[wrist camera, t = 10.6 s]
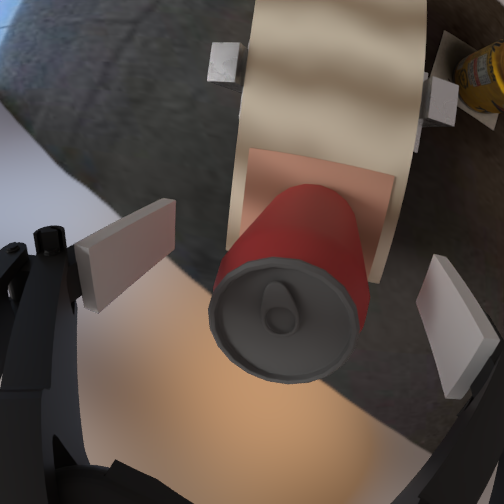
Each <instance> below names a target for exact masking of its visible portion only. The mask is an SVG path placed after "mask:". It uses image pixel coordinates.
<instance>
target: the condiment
mask: <svg viewBox="0 0 504 504" xmlns="http://www.w3.org/2000/svg"><path fill="white" fill-rule="evenodd" d="M466 55H467V56H466ZM432 76H434V77H437V78H440V79H443V80H445V81H448V82H452V83H454V84H456V85H459V91H458V101H457V106H458V107H459V108H461V109H462V110H464V111H465V112H467V113H468V114H470V115H472V116H473V117H474V118H476V119H477V120H479V121H480V122H482V123H483V124H485V125H486V126H487V127H489V128H490V129H492V130H493V131H494V128H495V125H496V122H497V118H498V114H499V113H504V39H501V40H499V41H497V42H494V43H492V44H491V45H488V46H487V47H485V48H483V49H480V50H478V51H477V50H475V49H474V48H473V47H471V46H469V45H468V44H466V43H465V42H463V41H461V40H460V39H458V38H457V37H455V36H454V35H452V34H450V33H448V32H447V31H445V30H444V33H443V36H442V39H441V43H440V46H439V49H438V52H437V56H436V59H435V62H434V65H433V69H432V72H431V75H430V77H432ZM448 78H449V79H450V81H449V80H448Z"/></svg>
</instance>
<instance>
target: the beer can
mask: <svg viewBox="0 0 504 504" xmlns="http://www.w3.org/2000/svg"><path fill="white" fill-rule="evenodd" d="M369 300H370V293H369V287H368V280H367V274H366V269H365V263H364V257H363V252H362V247H361V242H360V237H359V232H358V227H357V222H356V218H355V214H354V212H353V211H352V209H351V207H350V206H349V204H348V202H347V201H346V200H345V199H344V198H343V197H341V196H340V195H339V194H338V193H337V192H335V191H334V190H331V189H329V188H326V187H324V186H322V185H314V184H302V185H298V186H294V187H290V188H288V189H287V190H285V191H283V192H282V193H280V194H279V195H277V196H276V197H275V198H274V199H273V201H272V202H271V203H270V204H269V205H268V206H267V207H266V208H265V209H264V211H263V212H262V213H261V214H260V215H259V216H258V217H257V218H256V219H255V221H254V222H253V223H252V224H251V225H250V226H249V227H248V228H247V229H246V231H245V232H244V233H243V234H242V235H241V236H240V237H239V238H238V240H237V241H236V242H235V243H234V244H233V246H232V247H231V248H230V250H229V251H228V252H227V254H226V255H225V256H224V257H223V259H222V261H221V264H220V267H219V271H218V274H217V277H216V281H215V284H214V287H213V294H212V298H211V301H210V304H209V308H208V314H209V325H210V330H211V332H212V334H213V336H214V339H215V341H216V343H217V345H218V347H219V348H220V349H221V350H222V352H224V354H225V355H226V356H227V357H228V358H229V360H230V361H231V362H233V363H234V364H236V365H237V366H238V367H240V368H241V369H243V370H244V371H246V372H247V373H249V374H251V375H254V376H256V377H258V378H261V379H264V380H266V381H270V382H277V383H284V384H297V383H309V382H312V381H315V380H318V379H321V378H324V377H326V376H329V375H330V374H332V373H333V372H334V371H336V370H337V369H339V368H340V367H341V366H343V365H344V364H345V363H346V361H347V360H348V358H349V357H350V356H351V354H352V353H353V351H354V350H355V348H356V344H357V340H358V336H359V333H360V331H361V330H362V328H363V326H364V322H365V319H366V315H367V310H368V305H369Z"/></svg>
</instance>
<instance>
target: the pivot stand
mask: <svg viewBox="0 0 504 504" xmlns="http://www.w3.org/2000/svg"><path fill="white" fill-rule="evenodd" d="M249 43H250V41H249ZM248 51H249V44H248V49H247V48H246V47H244V46H243V45H242V44H241V43H227V42H222V43H212V49H211V56H210V63H209V70H208V78H207V81H208V82H211V83H214V84H217V85H220V86H222V87H225V88H228V89H231V90H234V91H236V92H239V93H242V96H243V88H244V80H245V73H246V62H247V58H248ZM458 91H459V85H456V84H454V83H451V82H448V81H445V80H443V79H440V78H437V77H434V76H432V77H430V78H429V79H428V73H427V72H424V77H423V87H422V100H421V104H420V112H419V119H418V126H417V132H416V138H415V144H414V150H413V152H416V153H417V152H418V147H419V141H420V135H421V129H422V127H454V125H455V118H456V110H457V101H458ZM241 104H242V97H241ZM240 112H241V105H240ZM239 119H240V113H239Z"/></svg>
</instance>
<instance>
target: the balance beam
mask: <svg viewBox="0 0 504 504" xmlns="http://www.w3.org/2000/svg"><path fill="white" fill-rule="evenodd" d="M426 26H427V0H256V2H255V9H254V15H253V22H252V29H251V36H250V43H249V51H248V58H247V62H246V73H245V80H244V88H243V96H242V104H241V112H240V121H239V129H238V137H237V146H236V155H235V164H234V173H233V182H232V192H231V202H230V211H229V221H228V232H227V242H226V250H228V251H229V250H230V248H231V247H232V246H233V244H234V243H235V242H236V241H237V240H238V238H239V237H240V236H241V235H242V234H243V233H244V232H245V231H246V229H247V228H248V227H249V226H250V225H251V224H252V223H253V222H254V221H255V219H256V218H257V217H258V216H259V215H260V214H261V213H262V212H263V211H264V209H265V208H266V207H267V206H268V205H269V204H270V203H271V202H272V201H273V199H274V198H275V197H276V196H277V195H279V194H280V193H282V192H283V191H285V190H287V189H288V188H290V187H294V186H298V185H302V184H314V185H322V186H324V187H326V188H329V189H331V190H334V191H335V192H337V193H338V194H339V195H340V196H341V197H343V198H344V199H345V200H346V201H347V202H348V204H349V206H350V207H351V209H352V211H353V212H354V214H355V218H356V222H357V227H358V232H359V237H360V242H361V247H362V252H363V257H364V263H365V269H366V274H367V280H368V281H369V282H373V283H378V284H379V282H380V279H381V276H382V273H383V270H384V267H385V264H386V260H387V257H388V254H389V250H390V247H391V243H392V240H393V236H394V233H395V229H396V225H397V222H398V218H399V214H400V210H401V206H402V202H403V197H404V193H405V189H406V184H407V180H408V175H409V170H410V165H411V160H412V155H413V150H414V144H415V138H416V132H417V126H418V119H419V112H420V104H421V100H422V87H423V77H424V65H425V51H426Z"/></svg>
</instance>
